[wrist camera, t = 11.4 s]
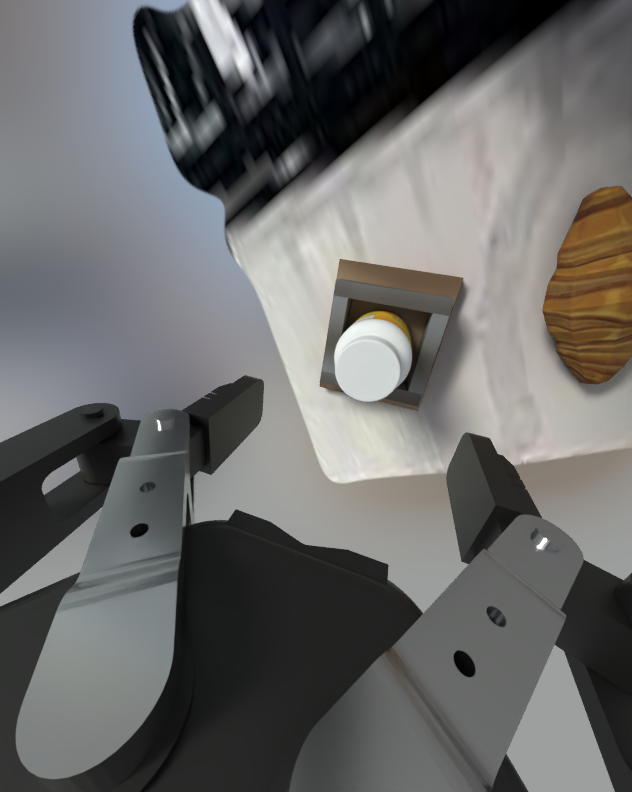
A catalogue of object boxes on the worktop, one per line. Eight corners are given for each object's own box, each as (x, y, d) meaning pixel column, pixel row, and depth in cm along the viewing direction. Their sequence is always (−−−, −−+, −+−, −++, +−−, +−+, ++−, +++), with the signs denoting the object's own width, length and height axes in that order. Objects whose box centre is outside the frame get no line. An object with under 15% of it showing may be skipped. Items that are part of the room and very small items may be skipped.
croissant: (528, 212, 20) (563, 195, 16) (655, 171, 18) (738, 138, 13) (532, 384, 24) (560, 409, 20) (635, 370, 22) (692, 395, 18)
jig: (342, 259, 25) (333, 257, 21) (461, 277, 23) (470, 278, 20) (322, 383, 30) (312, 395, 27) (417, 406, 28) (418, 422, 25)
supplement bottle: (420, 352, 25) (429, 393, 16) (366, 377, 27) (349, 424, 18) (394, 296, 24) (388, 309, 15) (340, 327, 26) (308, 353, 17)
